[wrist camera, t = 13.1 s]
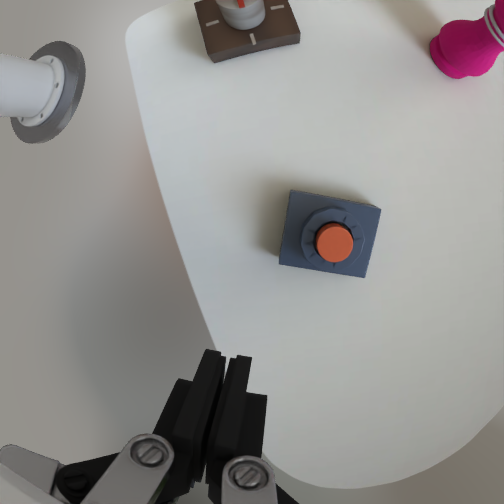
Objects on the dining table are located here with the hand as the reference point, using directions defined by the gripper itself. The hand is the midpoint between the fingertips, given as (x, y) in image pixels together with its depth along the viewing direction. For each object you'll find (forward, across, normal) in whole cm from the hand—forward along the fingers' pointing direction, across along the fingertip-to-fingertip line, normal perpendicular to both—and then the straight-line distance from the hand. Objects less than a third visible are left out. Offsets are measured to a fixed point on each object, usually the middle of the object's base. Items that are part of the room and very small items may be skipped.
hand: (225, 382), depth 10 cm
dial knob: (+22, +5, -24) cm, 33 cm away
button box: (+25, -7, -1) cm, 26 cm away
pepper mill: (+25, -20, -27) cm, 42 cm away
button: (+21, -7, -1) cm, 22 cm away
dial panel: (+25, +5, -24) cm, 35 cm away
